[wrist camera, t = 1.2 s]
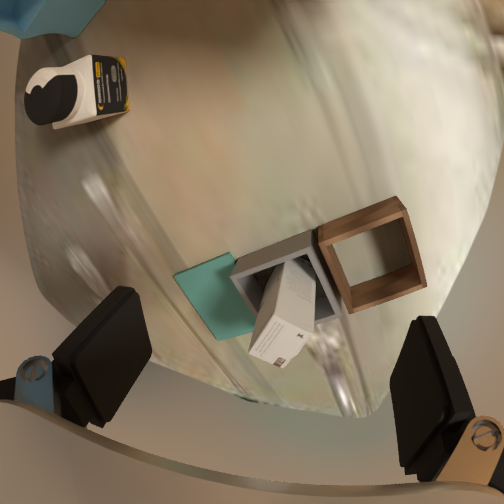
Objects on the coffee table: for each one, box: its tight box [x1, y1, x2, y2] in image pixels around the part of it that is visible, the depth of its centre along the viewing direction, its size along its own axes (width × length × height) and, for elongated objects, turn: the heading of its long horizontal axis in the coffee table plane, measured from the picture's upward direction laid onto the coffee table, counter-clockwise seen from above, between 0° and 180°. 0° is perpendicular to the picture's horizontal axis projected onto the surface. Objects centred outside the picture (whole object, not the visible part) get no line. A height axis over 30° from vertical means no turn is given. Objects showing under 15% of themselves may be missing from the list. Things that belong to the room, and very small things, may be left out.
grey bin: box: [230, 230, 342, 325], centre depth 36 cm, size 10×10×4 cm
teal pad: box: [173, 252, 256, 341], centre depth 42 cm, size 9×12×1 cm
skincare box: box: [248, 257, 316, 368], centre depth 33 cm, size 6×4×12 cm
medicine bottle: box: [24, 55, 130, 129], centre depth 26 cm, size 7×7×12 cm
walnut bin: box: [318, 196, 427, 314], centre depth 32 cm, size 10×10×4 cm
